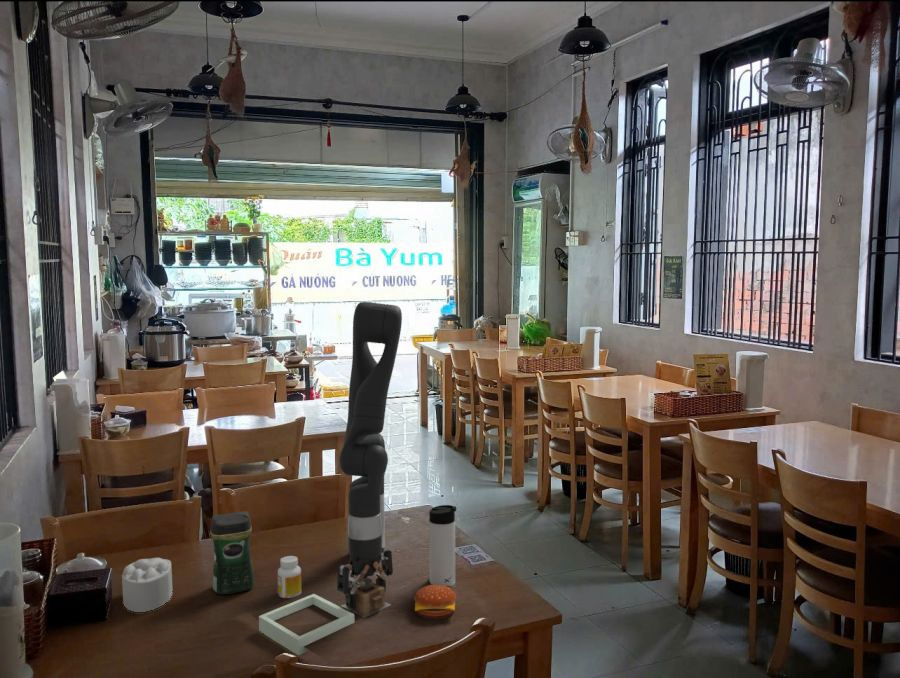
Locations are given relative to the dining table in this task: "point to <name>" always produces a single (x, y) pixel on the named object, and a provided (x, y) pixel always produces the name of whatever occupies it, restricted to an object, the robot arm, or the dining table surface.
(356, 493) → the robot arm
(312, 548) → the dining table surface
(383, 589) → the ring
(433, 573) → the travel mug
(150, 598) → the lumpy-topped squat cylinder
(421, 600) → the hamburger
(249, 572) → the coffee jar
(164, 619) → the dining table surface
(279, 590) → the supplement bottle
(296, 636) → the tray
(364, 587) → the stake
